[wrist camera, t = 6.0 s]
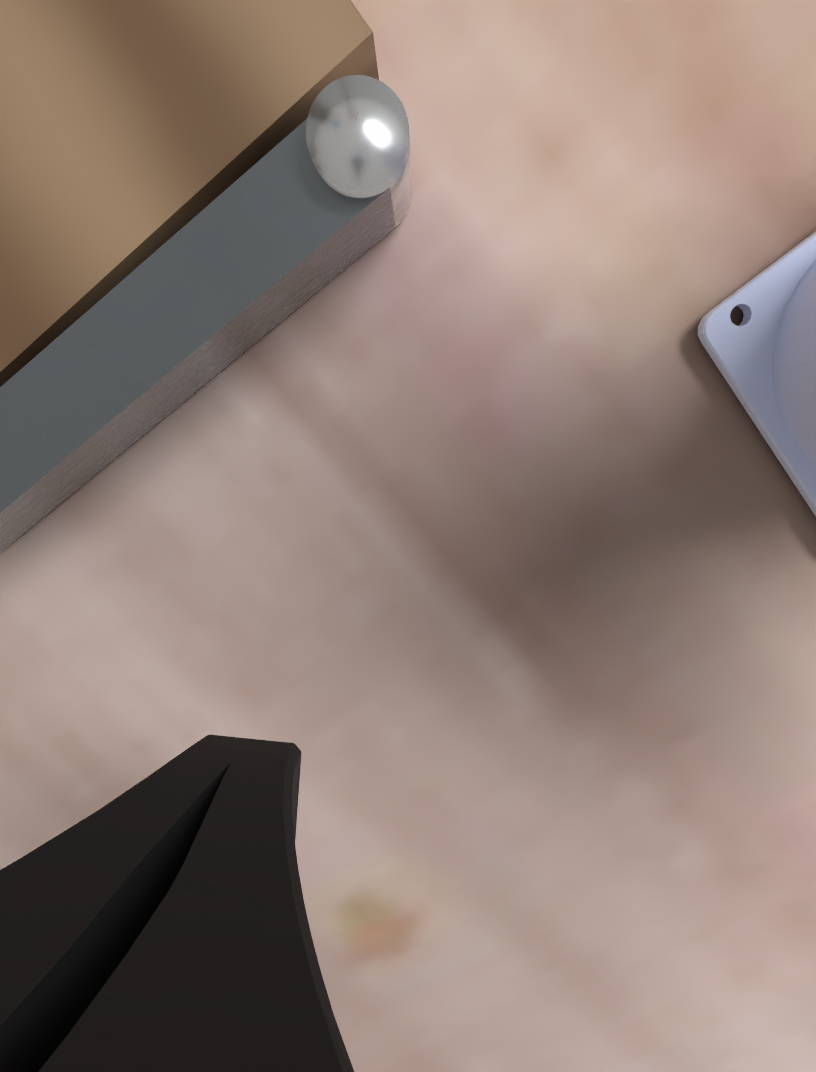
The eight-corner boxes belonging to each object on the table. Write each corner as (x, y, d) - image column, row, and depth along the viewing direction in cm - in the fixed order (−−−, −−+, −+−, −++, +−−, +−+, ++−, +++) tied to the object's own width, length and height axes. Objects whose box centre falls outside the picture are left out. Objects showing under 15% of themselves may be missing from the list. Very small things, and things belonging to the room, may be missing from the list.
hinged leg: (378, 129, 15) (366, 50, 12) (427, 200, 15) (429, 144, 12) (-51, 496, 17) (-167, 520, 14) (0, 553, 18) (-102, 589, 14)
